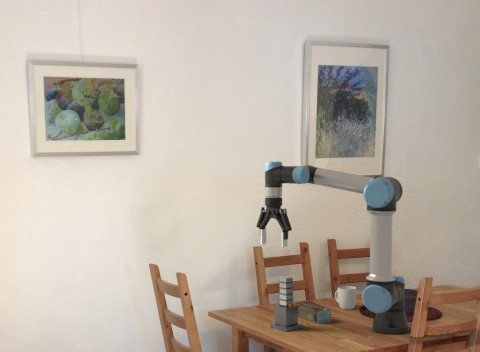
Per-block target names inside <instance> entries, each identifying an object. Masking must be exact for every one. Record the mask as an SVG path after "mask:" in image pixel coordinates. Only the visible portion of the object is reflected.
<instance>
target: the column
mask: <svg viewBox="0 0 480 352" xmlns="http://www.w3.org/2000/svg"><path fill="white" fill-rule="evenodd" d="M278 282H279V304H278V305H279V306H283V307H288V304H291V303H293V304H294V276H288V275H286V276H279V281H278Z"/></svg>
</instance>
